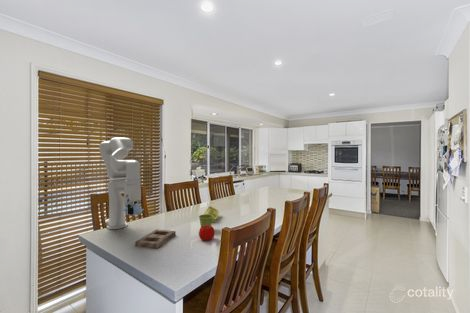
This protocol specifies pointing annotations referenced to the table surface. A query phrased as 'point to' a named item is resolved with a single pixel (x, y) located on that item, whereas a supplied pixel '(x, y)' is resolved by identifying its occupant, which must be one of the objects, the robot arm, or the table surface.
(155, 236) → the tray
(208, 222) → the plant pot
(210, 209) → the plastic component
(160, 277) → the table surface
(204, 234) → the tomato
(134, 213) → the light blue drawer box
